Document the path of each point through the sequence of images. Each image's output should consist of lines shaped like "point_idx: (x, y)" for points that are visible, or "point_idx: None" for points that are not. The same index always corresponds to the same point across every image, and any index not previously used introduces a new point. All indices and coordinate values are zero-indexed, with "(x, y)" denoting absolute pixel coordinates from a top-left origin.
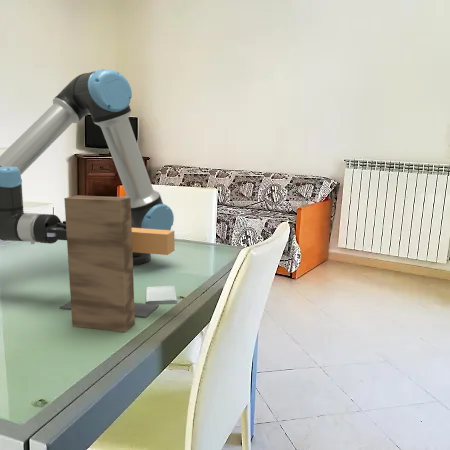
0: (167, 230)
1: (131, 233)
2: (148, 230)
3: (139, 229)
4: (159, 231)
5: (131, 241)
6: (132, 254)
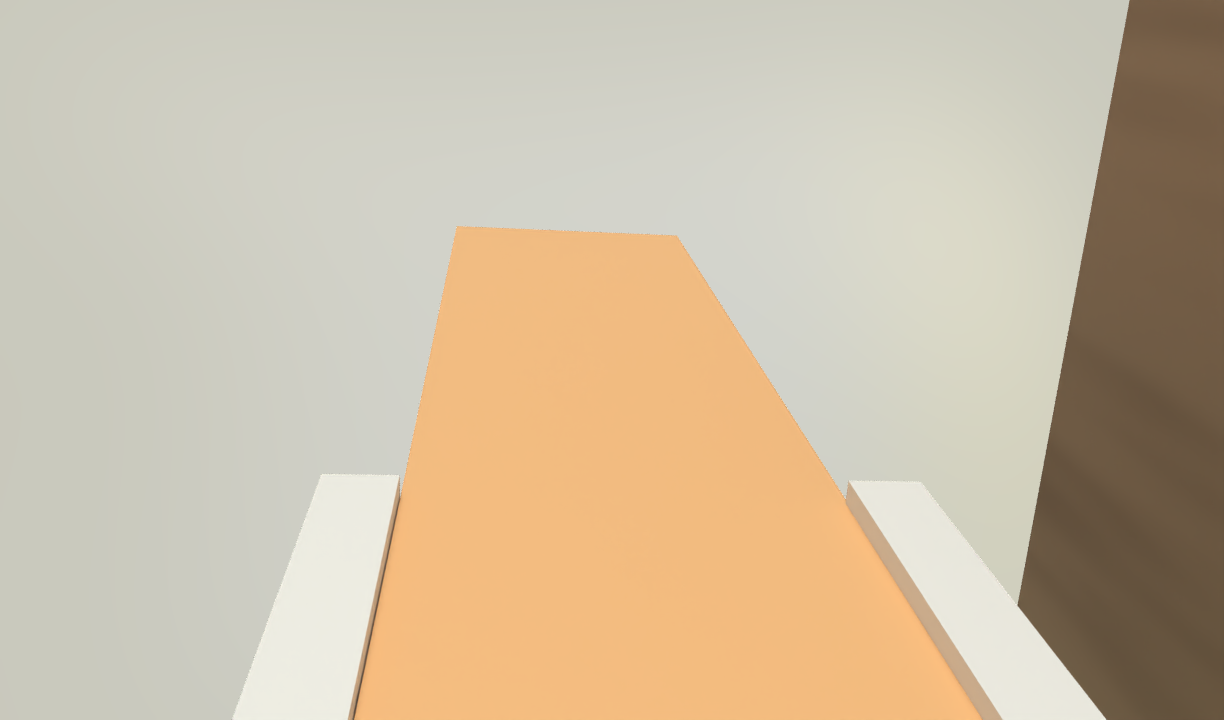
0: (474, 244)
1: (1085, 278)
2: (557, 311)
3: (537, 362)
4: (564, 265)
5: (1073, 388)
6: (1027, 559)
